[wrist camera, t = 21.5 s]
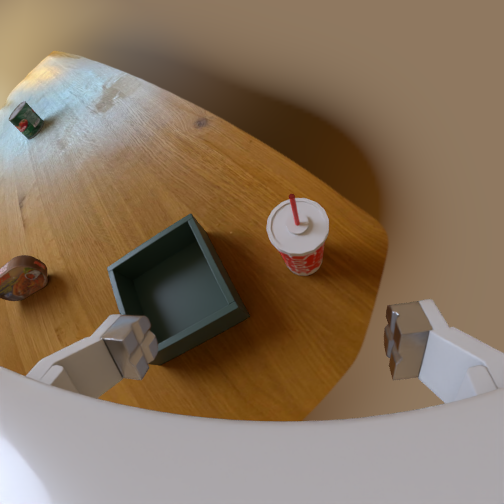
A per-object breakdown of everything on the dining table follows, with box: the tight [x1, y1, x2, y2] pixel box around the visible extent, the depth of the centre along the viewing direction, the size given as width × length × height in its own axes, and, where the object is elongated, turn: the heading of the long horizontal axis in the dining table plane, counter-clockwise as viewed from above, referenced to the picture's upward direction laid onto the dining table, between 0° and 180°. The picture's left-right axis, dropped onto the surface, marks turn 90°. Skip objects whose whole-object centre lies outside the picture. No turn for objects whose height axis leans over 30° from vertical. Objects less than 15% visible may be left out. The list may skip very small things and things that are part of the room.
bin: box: [107, 214, 250, 365], centre depth 36 cm, size 14×14×5 cm
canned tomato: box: [9, 101, 44, 139], centre depth 69 cm, size 8×8×11 cm
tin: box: [0, 255, 47, 301], centre depth 43 cm, size 15×3×8 cm, turn 109°
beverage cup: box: [266, 194, 329, 276], centre depth 31 cm, size 6×6×14 cm
